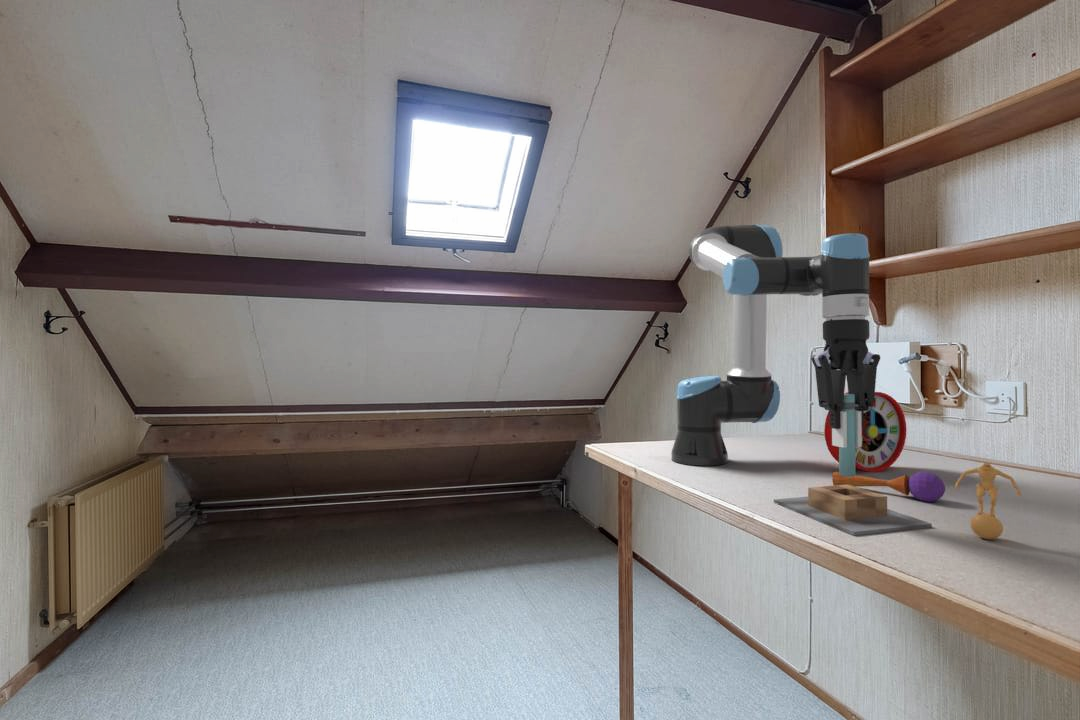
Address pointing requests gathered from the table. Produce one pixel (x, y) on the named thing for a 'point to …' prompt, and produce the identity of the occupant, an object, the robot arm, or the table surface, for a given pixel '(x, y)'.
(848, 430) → the banded teal rod
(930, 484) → the kendama
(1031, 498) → the table surface
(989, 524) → the figurine
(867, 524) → the gray base plate
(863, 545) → the table surface
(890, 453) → the toy clock
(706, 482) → the table surface
